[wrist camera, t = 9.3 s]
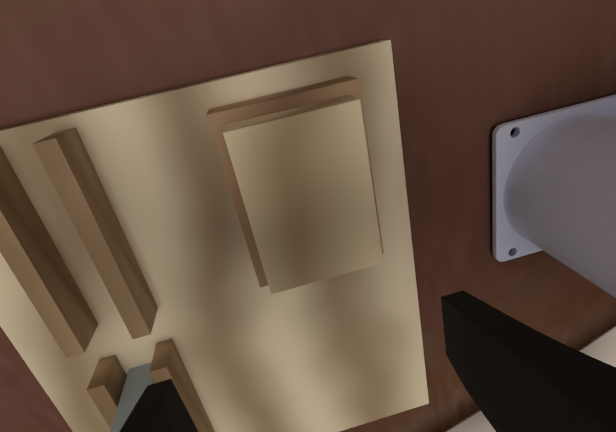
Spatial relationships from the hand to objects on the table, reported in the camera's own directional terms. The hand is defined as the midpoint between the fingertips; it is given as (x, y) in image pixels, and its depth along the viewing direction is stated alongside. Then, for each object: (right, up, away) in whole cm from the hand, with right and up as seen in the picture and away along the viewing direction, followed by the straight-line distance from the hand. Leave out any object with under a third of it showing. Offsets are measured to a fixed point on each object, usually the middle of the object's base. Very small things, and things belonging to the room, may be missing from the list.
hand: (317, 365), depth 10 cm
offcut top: (0, +5, +6) cm, 8 cm away
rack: (-4, -1, +11) cm, 12 cm away
